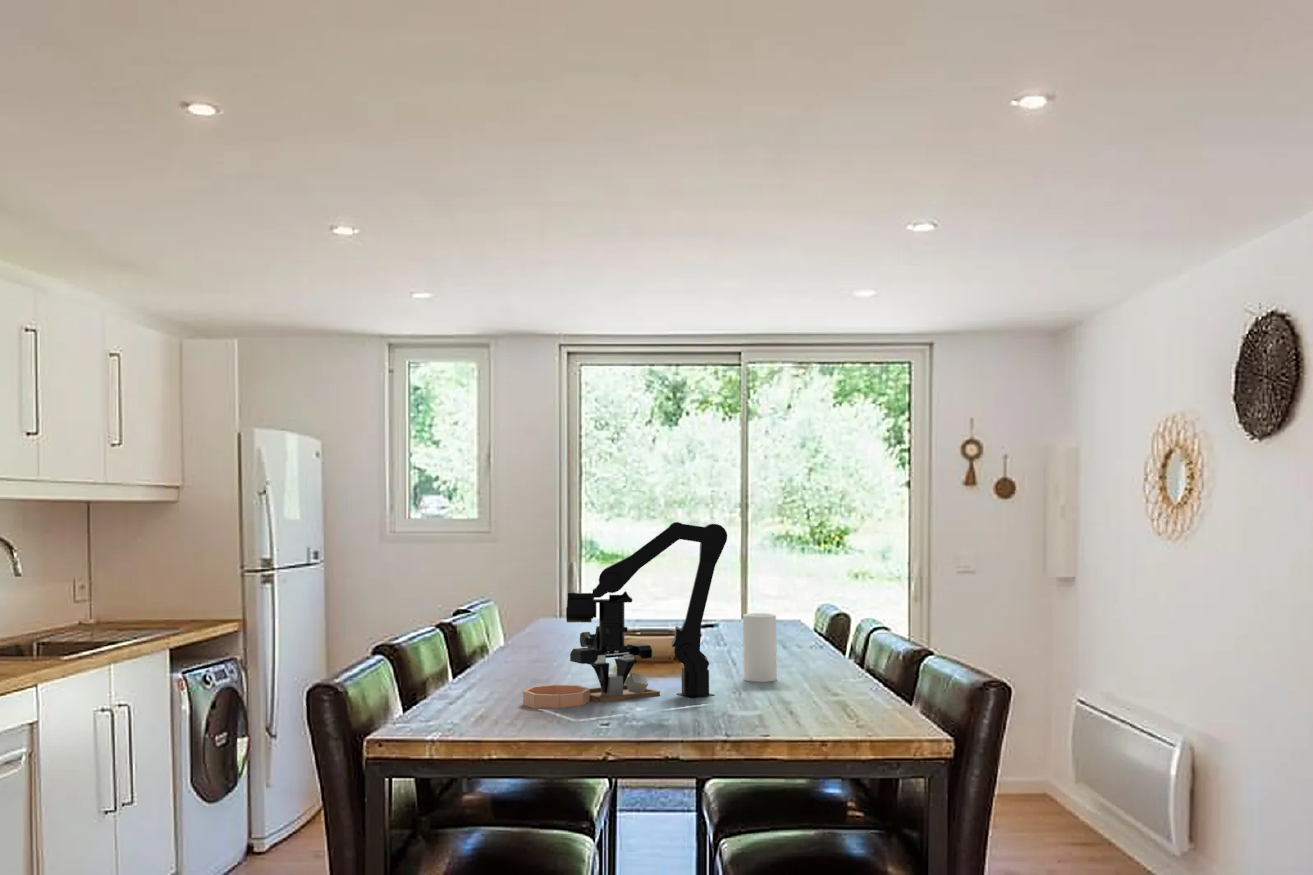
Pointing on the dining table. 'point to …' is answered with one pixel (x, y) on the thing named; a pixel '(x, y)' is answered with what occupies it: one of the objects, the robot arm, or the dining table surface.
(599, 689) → the tray
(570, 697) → the dish
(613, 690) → the grey block
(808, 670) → the dining table surface
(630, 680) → the grey small block
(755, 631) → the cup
